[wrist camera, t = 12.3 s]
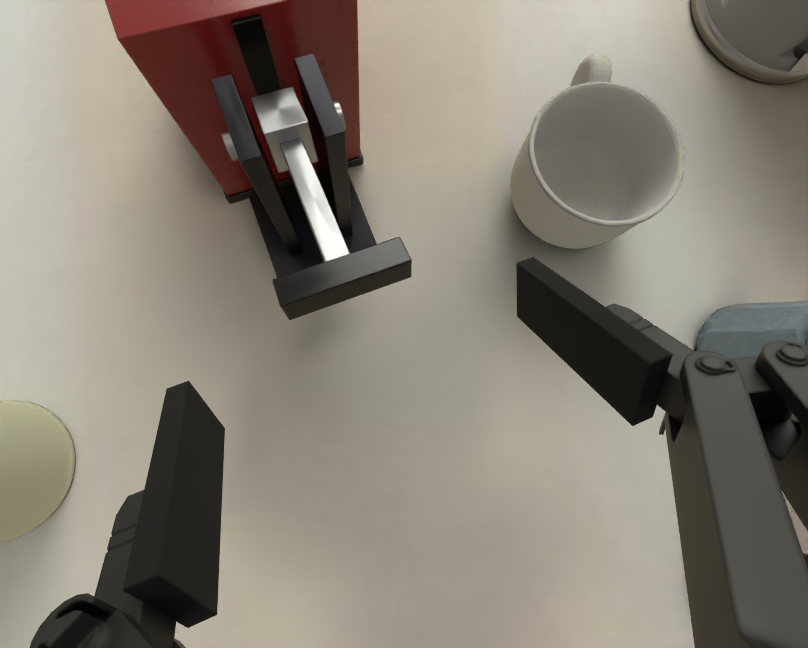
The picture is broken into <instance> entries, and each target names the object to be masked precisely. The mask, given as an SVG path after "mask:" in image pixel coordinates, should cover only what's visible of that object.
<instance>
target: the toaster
mask: <svg viewBox="0 0 808 648" xmlns="http://www.w3.org/2000/svg"><path fill="white" fill-rule="evenodd" d="M105 2H106V6H107V9H108V12H109V15H110V18H111V21H112V24H113V27H114V30H115V33H116V36H117V39H118V40H119V42H120V43H121V45H122V46H123V47H124V49H125V50H126V52H127V53H128V55H129V56H130V57H131V59H132V60H133V62H134V63H135V65H136V66H137V67H138V69H139V70H140V72H141V73H142V74H143V76H144V77H145V79H146V80H147V82H148V83H149V84H150V86H151V87H152V89H153V90H154V92H155V93H156V94H157V96H158V97H159V99H160V100H161V101H162V103H163V104H164V106H165V107H166V109H167V110H168V111H169V113H170V114H171V116H172V117H173V119H174V120H175V121H176V123H177V124H178V126H179V127H180V128H181V130H182V131H183V133H184V134H185V136H186V137H187V138H188V140H189V141H190V143H191V144H192V145H193V147H194V148H195V150H196V151H197V153H198V154H199V155H200V157H201V158H202V160H203V161H204V163H205V164H206V165H207V167H208V168H209V170H210V171H211V172H212V174H213V175H214V177H215V178H216V180H217V181H218V182H219V184H220V185H221V187H222V188H223V191H224V194H225V197H226V199H227V201H228V202H229V203H233V202H237V201H240V200H243V199H247V198H249V196H251V195H255V194H257V192H256V191H255V189H254V187H253V185H252V183H251V181H250V180H249V178H248V176H247V174H246V172H245V170H244V169H243V167H242V165H241V163H240V161H239V160H237V161H233V160H232V159H231V157H230V155H229V153H228V151H227V148H226V146H225V144H224V141H223V138H222V135H221V132H222V131H226V130H228V128H227V125H226V122H225V120H224V117H223V114H222V111H221V108H220V106H219V103H218V100H217V97H216V95H215V92H214V89H213V86H212V83H211V79H214V78H218V77H222V76H226V75H230V74H231V75H232V77H233V79H234V82H235V84H236V86H237V89H238V91H239V93H240V96H241V98H242V101H243V103H244V105H245V108H246V110H247V112H248V115H249V117H250V119H251V122H252V124H253V127H254V129H255V131H256V134H257V136H258V138H259V141H260V143H261V146H262V148H263V150H264V153H265V155H266V157H267V160H268V162H269V165H270V167H271V169H272V172H273V174H274V176H275V179H276V181H277V183H278V186H279V187H281V186H285V185H288V184H291V183H294V182H293V179H292V177H291V174H290V172H289V170H288V171H284V172H281V173H278V171H277V168H276V166H275V163H274V161H273V158H272V156H271V153H270V150H269V148H268V145H267V143H266V140H265V138H264V135H263V132H262V130H261V127H260V124H259V121H258V119H257V116H256V113H255V111H254V108H253V105H252V102H251V100H250V98H251V97H255V96H259V95H263V94H266V93H270V92H274V91H278V90H282V89H285V88H289V87H293V88H294V90H295V92H296V95H297V97H298V99H299V101H300V104H301V106H302V108H303V110H304V113H305V109H304V104H303V99H302V95H301V90H300V85H299V81H298V76H297V71H296V67H295V62H294V58H297V57H301V56H305V55H309V54H314V56H315V58H316V61H317V63H318V66H319V68H320V71H321V73H322V76H323V78H324V81H325V83H326V86H327V88H328V91H329V93H330V96H331V98H332V101H335V100H337V101H338V102H339V104H340V106H341V109H342V112H343V115H344V119H345V125H346V129H345V130H344V131H345V140H346V153H347V166H348V168H349V167H353V166H356V165H359V164H362V163H363V156H362V154H361V151H360V122H359V70H358V18H357V0H105ZM305 115H306V114H305ZM312 165H313V167H314V169H315V172H316V174H317V176H318V175H319V174H318V170H317V165H316V162H315V163H312Z"/></svg>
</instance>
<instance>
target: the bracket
mask: <svg viewBox="0 0 808 648" xmlns="http://www.w3.org/2000/svg"><path fill="white" fill-rule="evenodd" d="M294 62H295V67H296V71H297V76H298V81H299V85H300V90H301V95H302V99H303V104H304V109H305V114H306V117H307V119H308V122H309V125H310V129H311V133H312V137H313V141H314V145H315V149H316V152H317V156H318V162H316V165H317V170H318V174H319V175H318V176H317V177H318V179H319V181H320V184H321V186H322V188H323V191H324V193H325V195H326V198H327V200H328V203H329V205H330V207H331V210H332V212H333V214H334V217H335V219H336V222H337V224H338V226H339V229H340V231H341V233H342V236H343V238H344V241H345V243H346V245H347V248H348V250H349V252H350V253H353V252H356V251H359V250H362V249H365V248H368V247H371V246H374V245H376V242H375V239H374V237H373V234H372V231H371V229H370V226H369V224H368V221H367V219H366V216H365V214H364V211H363V209H362V206H361V204H360V201H359V199H358V196H357V194H356V191H355V189H354V186H353V184H352V181H351V179H350V176H349V174H348V166H347V153H346V140H345V131H344V130H345V129H346V125H345V119H344V115H343V112H342V109H341V106H340V104H339V102H338V101H337V100H335V101H332V98H331V96H330V93H329V91H328V88H327V86H326V83H325V81H324V78H323V76H322V73H321V71H320V68H319V66H318V63H317V61H316V58H315V56H314V54H309V55H305V56H301V57H297V58H294ZM211 83H212V86H213V89H214V92H215V95H216V97H217V100H218V103H219V106H220V108H221V111H222V114H223V117H224V120H225V122H226V125H227V128H228V130H226V131H222V132H221V135H222V138H223V141H224V144H225V146H226V148H227V151H228V153H229V155H230V157H231V159H232V160H233V161H237V160H239V161H240V163H241V165H242V167H243V169H244V170H245V172H246V174H247V176H248V178H249V180H250V181H251V183H252V185H253V187H254V189H255V191H256V192H257V194H255V195H251V196H249V199H250V202H251V205H252V208H253V210H254V213H255V216H256V219H257V222H258V224H259V227H260V230H261V233H262V235H263V238H264V241H265V244H266V247H267V249H268V252H269V255H270V258H271V260H272V263H273V266H274V269H275V272H276V274H277V277H278V278H279V277H282V276H285V275H288V274H291V273H294V272H296V271H299V270H302V269H305V268H308V267H311V266H314V265H317V264H320V263H323V262H324V260H323V258H322V255H321V252H320V250H319V247H318V245H317V242H316V239H315V237H314V234H313V232H312V229H311V226H310V224H309V221H308V218H307V216H306V213H305V211H304V208H303V205H302V203H301V200H300V198H299V195H298V192H297V190H296V187H295V185H294V183H291V184H288V185H285V186H281V187H279V186H278V183H277V181H276V179H275V176H274V174H273V172H272V169H271V167H270V165H269V162H268V160H267V157H266V155H265V153H264V150H263V148H262V146H261V143H260V141H259V138H258V136H257V134H256V131H255V129H254V127H253V124H252V122H251V119H250V117H249V115H248V112H247V110H246V108H245V105H244V103H243V101H242V98H241V96H240V93H239V91H238V89H237V86H236V84H235V82H234V79H233V77H232V75H231V74H230V75H226V76H222V77H218V78H214V79H211Z"/></svg>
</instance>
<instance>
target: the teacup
mask: <svg viewBox="0 0 808 648" xmlns="http://www.w3.org/2000/svg"><path fill="white" fill-rule="evenodd" d="M611 73H612V68H611V62H610V60H609V59H608V58H607V57H606V56H603V55H592V56H589V57H587V58H586V59H584V60H583V62H582V63H581V64H580V65H579V67H578V69H577V71H576V73H575V75H574V77H573V80H572V83H571V85H570V87H569V88H567V89H565V90H563V91H561V92H559V93H558V94H556V95H555V96H553V97H552V98H551V99H550V100H548V101H547V102H546V104H545V105H544V106H543V107H542V108H541V110H540V111H539V113H538V114H537V116H536V117H535V119H534V122H533V125H532V127H531V130H530V132H529V134H528V136H527V138H526V140H525V141H524V143H523V145H522V147H521V150H520V152H519V154H518V156H517V158H516V161H515V163H514V167H513V170H512V175H511V183H510V189H511V197H512V202H513V205H514V208H515V210H516V212H517V215H518V216H519V218H520V220H521V221H522V222H523V224H524V225H525V226H526V227H527V228H528V229H529V230H530V231H531V232H532V233H533V234H534V235H536V236H537V237H539V238H540V239H542V240H543V241H545V242H548V243H550V244H552V245H555V246H559V247H563V248H571V249H579V248H587V247H592V246H596V245H599V244H602V243H605V242H607V241H609V240H611V239H613V238H615V237H617V236H619V235H620V234H622V233H624V232H626V231H627V230H629V229H631V228H632V227H634V226H635V225H637V224H638V223H641V222H644V221H646V220H648V219H650V218H651V217H653V216H654V215H656V214H657V213H659V212H660V211H661V210H662V209H663V208H664V207H665V206H666V205H667V204H669V202H670V201H671V200H672V199H673V197H674V196H675V194H676V192H677V190H678V188H679V186H680V184H681V181H682V178H683V174H684V165H685V155H684V148H683V145H682V142H681V138H680V134H679V133H678V131H677V128H676V126H675V124H674V123H673V121H672V120H671V118H670V117H669V116H668V115H667V113H666V112H665V111H664V110H663V109H662V108H661V107H660V106H659V105H658V104H657V103H656V102H655V101H653V100H652V99H650V98H649V97H647V96H646V95H644V94H643V93H641V92H639V91H636V90H634V89H632V88H629V87H626V86H622V85H619V84H615V83H610V79H611Z"/></svg>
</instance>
